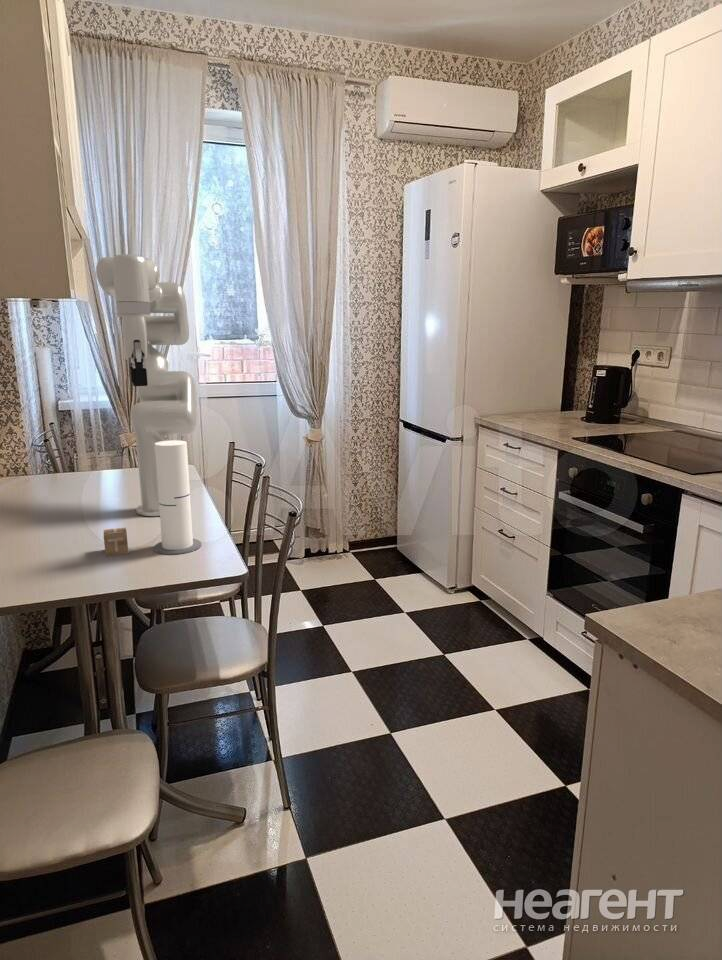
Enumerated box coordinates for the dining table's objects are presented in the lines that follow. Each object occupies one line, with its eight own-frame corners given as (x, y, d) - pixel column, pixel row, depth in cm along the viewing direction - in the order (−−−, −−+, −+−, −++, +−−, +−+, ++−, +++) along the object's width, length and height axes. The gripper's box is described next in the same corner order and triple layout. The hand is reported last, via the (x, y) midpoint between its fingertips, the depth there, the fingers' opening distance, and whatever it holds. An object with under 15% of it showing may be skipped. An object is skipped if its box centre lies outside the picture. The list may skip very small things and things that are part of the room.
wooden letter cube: (105, 549, 152) (103, 529, 151) (127, 547, 154) (126, 526, 153) (105, 556, 148) (103, 535, 146) (128, 554, 149) (126, 533, 148)
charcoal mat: (166, 538, 160) (165, 537, 160) (208, 540, 159) (207, 538, 158) (146, 553, 149) (145, 551, 149) (190, 555, 148) (190, 554, 148)
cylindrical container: (196, 546, 153) (190, 444, 147) (166, 551, 149) (158, 446, 144) (188, 538, 159) (182, 439, 153) (159, 543, 155) (151, 441, 150)
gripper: (115, 311, 155) (121, 382, 160) (117, 309, 140) (123, 388, 144) (147, 311, 158) (153, 381, 162) (152, 309, 142) (158, 386, 147)
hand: (139, 384), depth 153 cm, fingers open, 9 cm apart
